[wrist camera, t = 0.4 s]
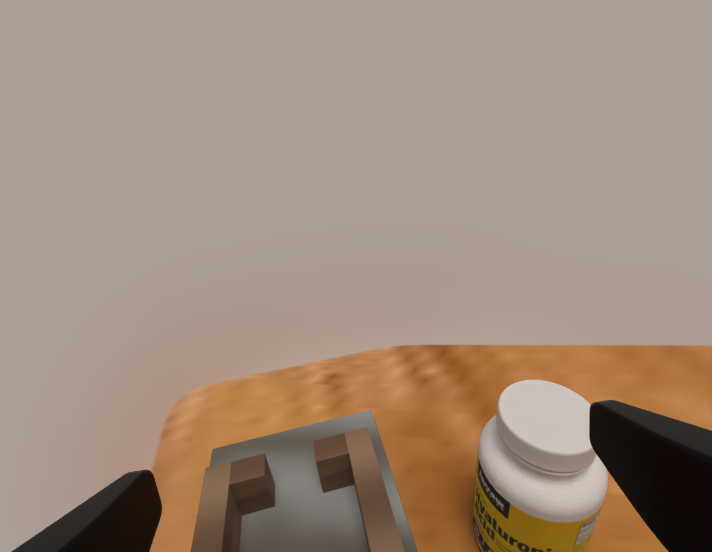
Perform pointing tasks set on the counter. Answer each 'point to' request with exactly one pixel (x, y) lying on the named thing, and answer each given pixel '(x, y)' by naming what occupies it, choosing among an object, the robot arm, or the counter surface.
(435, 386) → the counter surface
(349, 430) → the pocket
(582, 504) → the supplement bottle
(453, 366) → the counter surface
